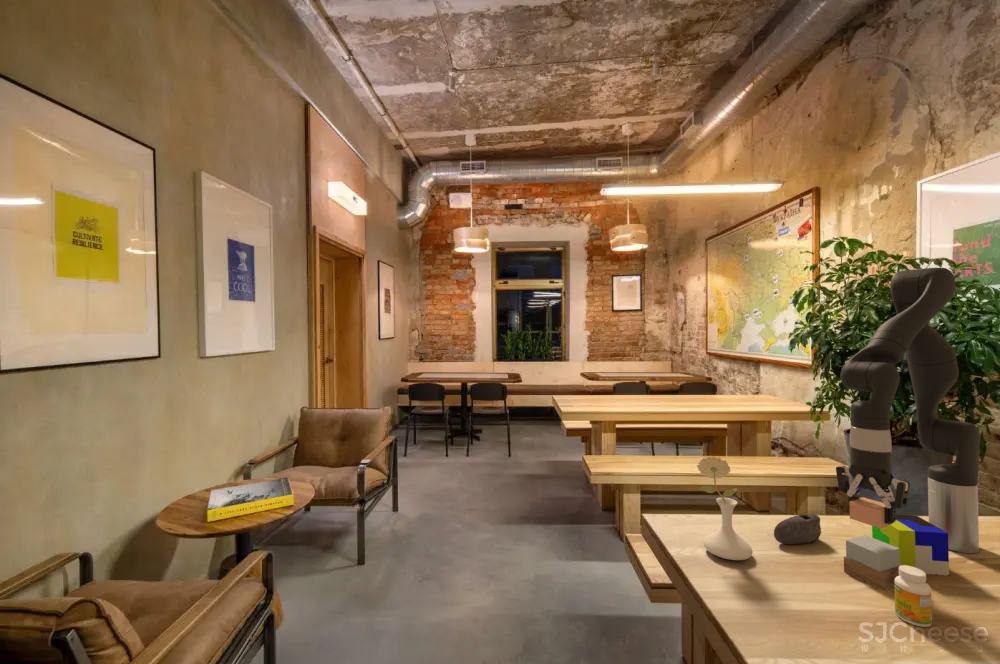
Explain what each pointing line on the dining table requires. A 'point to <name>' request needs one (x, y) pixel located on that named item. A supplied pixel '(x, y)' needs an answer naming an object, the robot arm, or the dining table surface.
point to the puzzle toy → (917, 543)
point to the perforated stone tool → (798, 529)
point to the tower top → (873, 553)
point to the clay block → (868, 512)
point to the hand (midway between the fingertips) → (871, 517)
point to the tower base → (871, 574)
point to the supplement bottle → (913, 596)
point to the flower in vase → (723, 515)
